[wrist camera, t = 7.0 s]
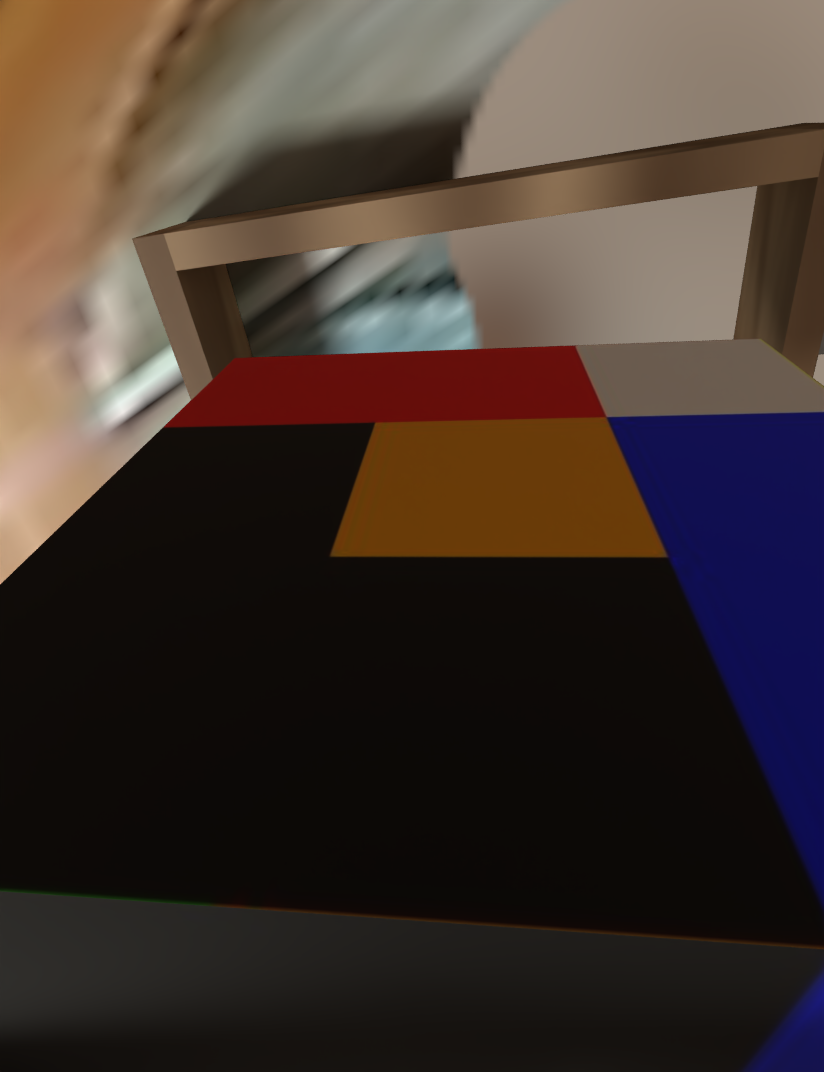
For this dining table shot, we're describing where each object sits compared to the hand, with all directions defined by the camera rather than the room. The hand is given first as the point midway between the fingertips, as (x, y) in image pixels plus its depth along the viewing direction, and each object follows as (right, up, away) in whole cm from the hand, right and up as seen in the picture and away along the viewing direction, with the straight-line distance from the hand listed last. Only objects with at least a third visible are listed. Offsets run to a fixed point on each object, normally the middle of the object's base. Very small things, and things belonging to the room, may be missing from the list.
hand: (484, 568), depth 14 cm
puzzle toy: (0, 0, 0) cm, 1 cm away
